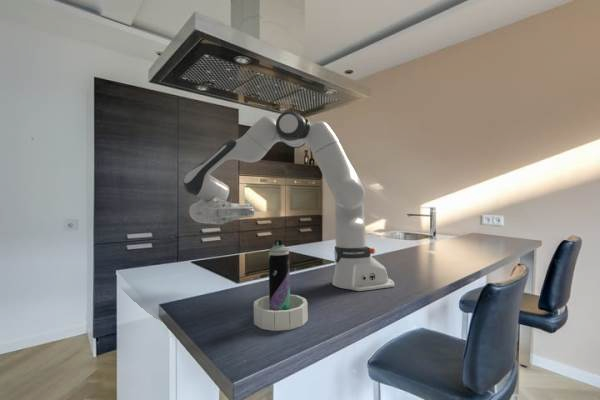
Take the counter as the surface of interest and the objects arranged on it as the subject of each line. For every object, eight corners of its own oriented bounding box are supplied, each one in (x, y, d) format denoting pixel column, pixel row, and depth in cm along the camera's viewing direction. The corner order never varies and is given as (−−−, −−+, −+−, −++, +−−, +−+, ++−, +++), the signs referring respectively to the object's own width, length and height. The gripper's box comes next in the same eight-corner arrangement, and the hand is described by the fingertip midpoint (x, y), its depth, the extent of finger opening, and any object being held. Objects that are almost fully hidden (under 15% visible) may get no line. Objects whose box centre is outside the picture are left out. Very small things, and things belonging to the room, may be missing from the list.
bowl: (303, 308, 87) (303, 292, 87) (310, 328, 73) (310, 309, 73) (255, 311, 85) (254, 295, 85) (253, 332, 71) (252, 313, 71)
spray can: (272, 320, 75) (270, 242, 76) (267, 313, 81) (266, 239, 81) (293, 317, 77) (291, 240, 77) (286, 310, 82) (285, 238, 83)
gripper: (192, 204, 102) (214, 203, 93) (240, 203, 118) (263, 202, 109) (192, 222, 102) (215, 223, 93) (240, 219, 118) (264, 220, 108)
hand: (241, 212), depth 101 cm, fingers open, 8 cm apart
